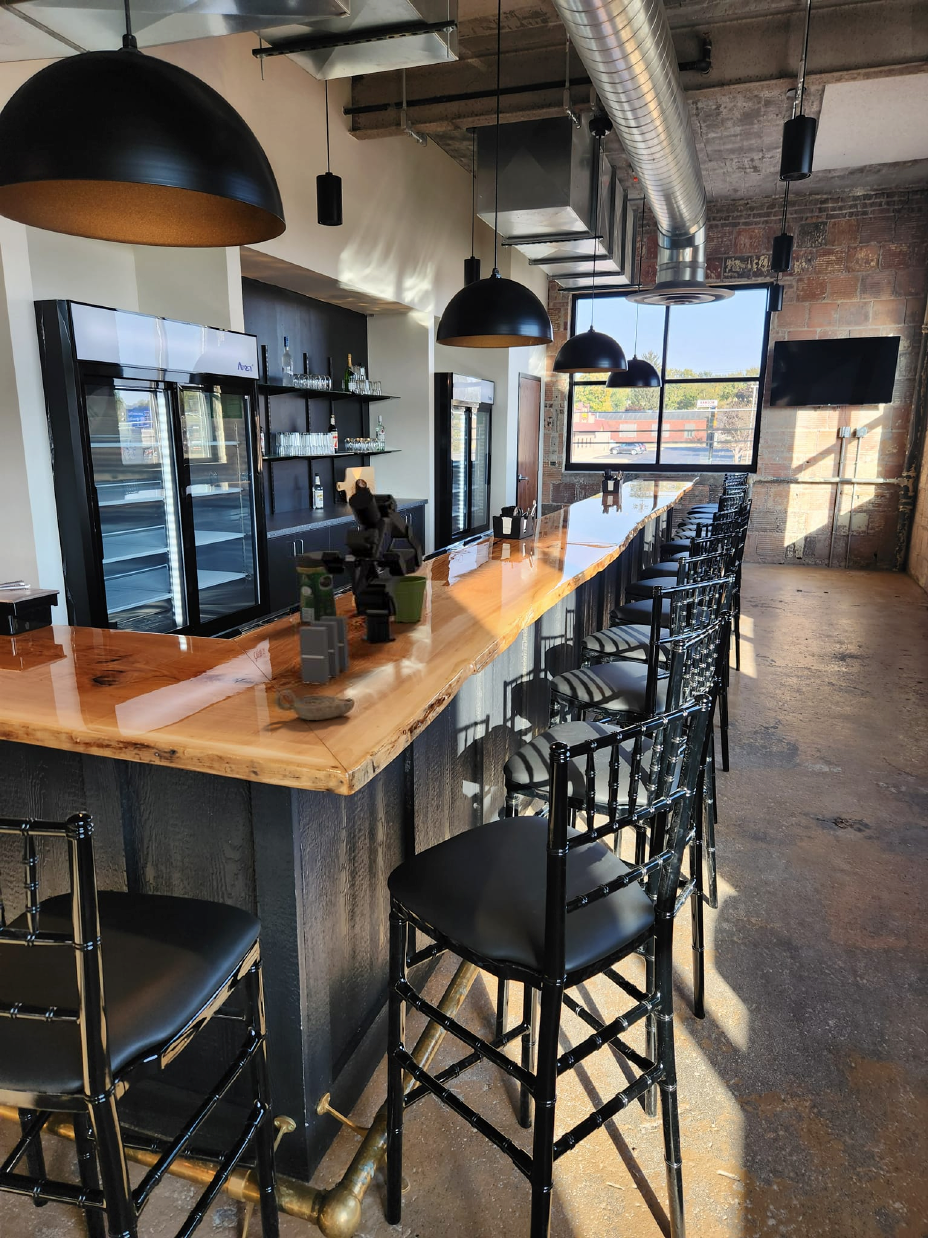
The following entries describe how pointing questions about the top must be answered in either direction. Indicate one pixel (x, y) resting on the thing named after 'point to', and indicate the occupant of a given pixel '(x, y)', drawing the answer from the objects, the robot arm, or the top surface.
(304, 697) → the oil lamp
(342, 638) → the domino
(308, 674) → the domino
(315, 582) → the coffee jar
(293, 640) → the top surface
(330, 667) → the domino
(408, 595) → the plant pot
